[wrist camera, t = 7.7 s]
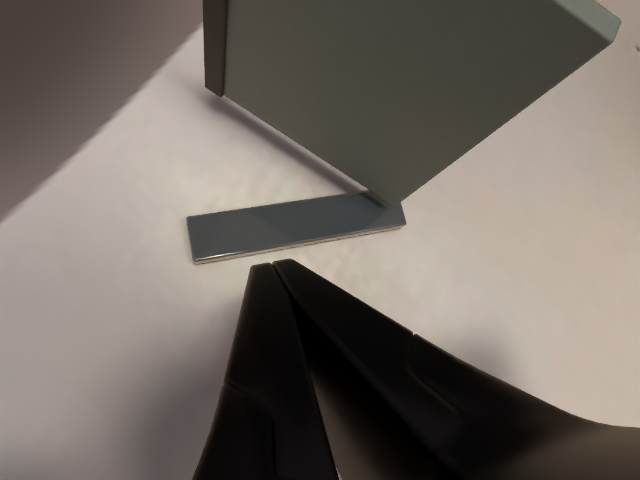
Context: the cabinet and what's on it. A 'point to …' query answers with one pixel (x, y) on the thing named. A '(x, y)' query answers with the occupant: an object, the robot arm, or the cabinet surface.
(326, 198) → the dark grey flat bar
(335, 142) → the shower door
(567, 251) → the cabinet surface
